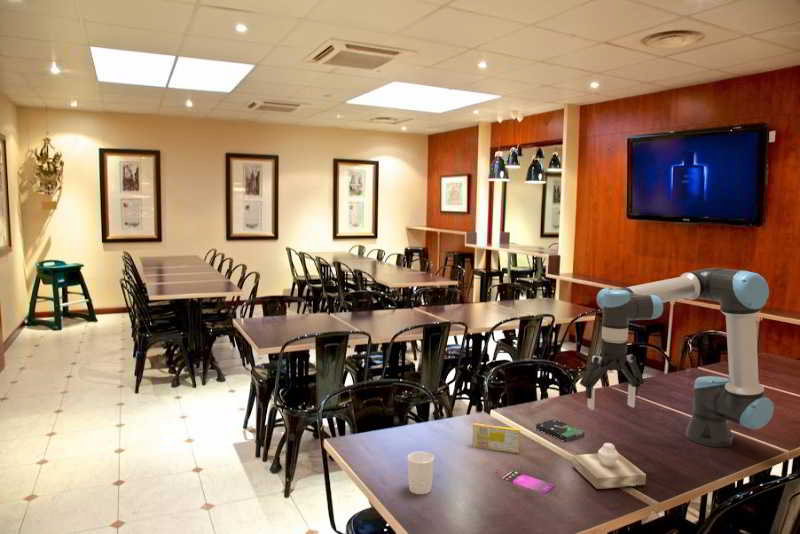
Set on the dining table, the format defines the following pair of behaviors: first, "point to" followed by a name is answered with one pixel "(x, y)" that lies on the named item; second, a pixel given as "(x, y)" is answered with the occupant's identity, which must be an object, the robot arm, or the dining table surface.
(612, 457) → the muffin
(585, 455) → the beige satin panel
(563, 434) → the disk drive
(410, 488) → the white cup
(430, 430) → the dining table surface
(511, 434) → the candy box
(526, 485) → the smartphone
